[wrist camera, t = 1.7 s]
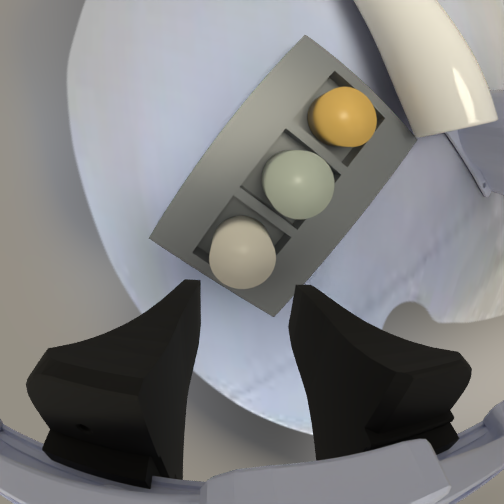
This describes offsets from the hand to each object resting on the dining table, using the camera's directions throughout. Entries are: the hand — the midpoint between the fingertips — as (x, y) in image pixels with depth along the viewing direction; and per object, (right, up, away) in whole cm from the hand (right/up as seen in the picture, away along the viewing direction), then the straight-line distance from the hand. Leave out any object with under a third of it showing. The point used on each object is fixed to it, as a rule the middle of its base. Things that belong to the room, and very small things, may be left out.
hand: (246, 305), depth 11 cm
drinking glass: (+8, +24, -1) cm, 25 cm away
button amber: (+5, +11, +5) cm, 13 cm away
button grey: (+3, +6, +5) cm, 9 cm away
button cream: (0, +3, +7) cm, 7 cm away
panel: (+2, +7, +8) cm, 11 cm away
